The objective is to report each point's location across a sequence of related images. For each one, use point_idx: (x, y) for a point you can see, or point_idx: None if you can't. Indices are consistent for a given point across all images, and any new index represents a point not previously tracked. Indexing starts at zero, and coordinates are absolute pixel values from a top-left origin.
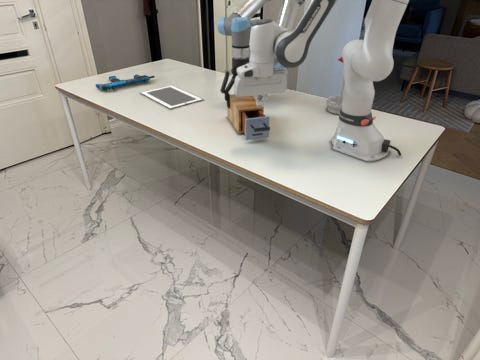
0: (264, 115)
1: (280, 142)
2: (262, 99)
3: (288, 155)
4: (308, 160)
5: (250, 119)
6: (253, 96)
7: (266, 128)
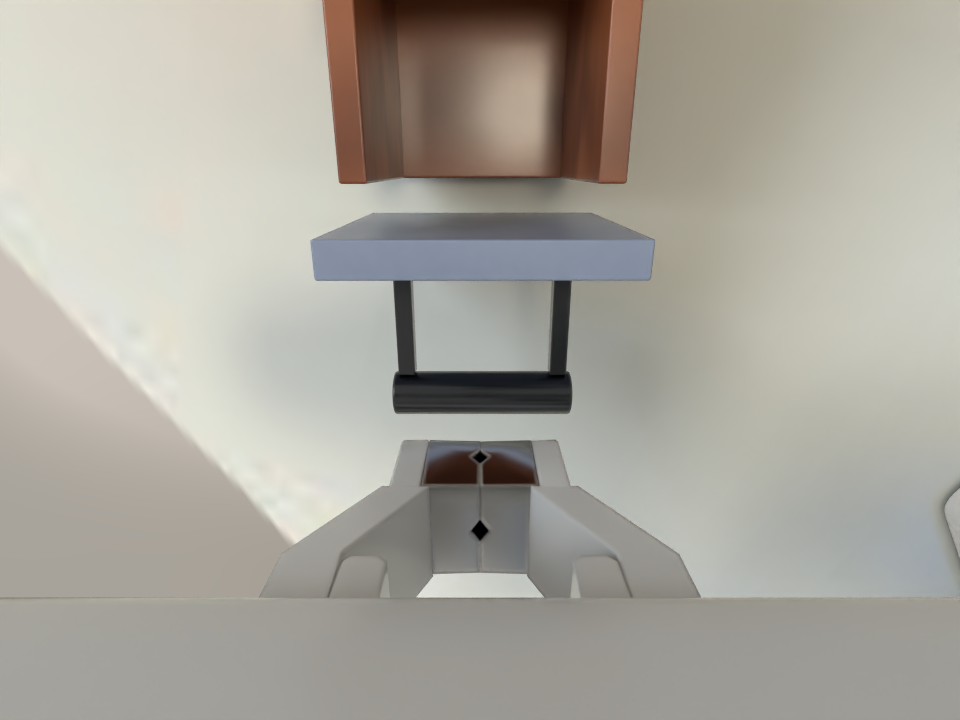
0: (618, 177)
1: (659, 306)
2: (544, 522)
3: (615, 494)
4: (699, 572)
5: (376, 279)
6: (283, 563)
7: (529, 413)
